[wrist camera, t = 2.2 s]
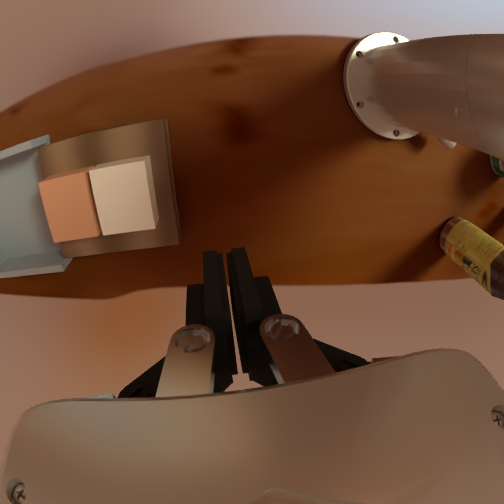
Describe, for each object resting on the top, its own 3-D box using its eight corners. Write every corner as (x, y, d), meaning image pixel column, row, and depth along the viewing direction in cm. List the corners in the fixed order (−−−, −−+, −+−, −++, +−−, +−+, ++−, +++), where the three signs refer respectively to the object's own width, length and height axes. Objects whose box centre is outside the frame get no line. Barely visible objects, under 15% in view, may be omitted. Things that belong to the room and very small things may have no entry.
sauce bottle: (430, 240, 37) (525, 325, 20) (454, 206, 35) (556, 279, 18) (448, 259, 40) (529, 338, 22) (469, 228, 37) (557, 298, 20)
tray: (49, 134, 23) (30, 140, 20) (76, 253, 30) (64, 271, 27) (-23, 161, 22) (-42, 170, 18) (6, 262, 29) (-8, 279, 25)
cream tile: (149, 155, 24) (144, 160, 22) (159, 217, 27) (155, 228, 25) (98, 164, 23) (88, 170, 21) (110, 224, 26) (103, 235, 24)
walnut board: (167, 118, 25) (163, 119, 23) (181, 231, 31) (179, 244, 28) (50, 143, 24) (36, 148, 21) (74, 245, 30) (64, 258, 27)
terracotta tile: (93, 165, 23) (83, 171, 21) (105, 225, 26) (98, 236, 24) (50, 175, 23) (38, 182, 21) (63, 231, 26) (54, 242, 23)
